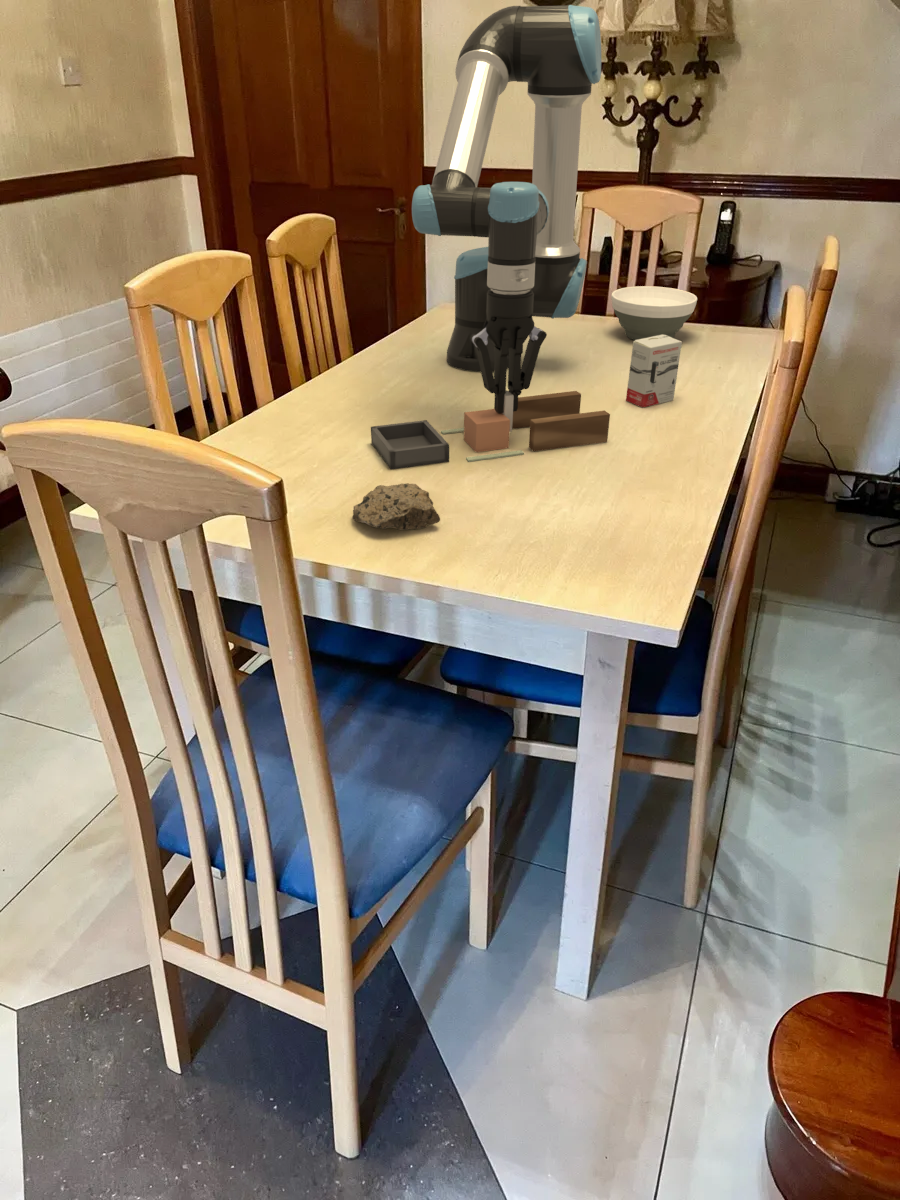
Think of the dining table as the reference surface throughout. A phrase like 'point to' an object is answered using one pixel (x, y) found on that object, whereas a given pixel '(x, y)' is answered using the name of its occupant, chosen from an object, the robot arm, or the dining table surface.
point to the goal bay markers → (483, 457)
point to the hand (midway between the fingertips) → (505, 429)
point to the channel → (559, 421)
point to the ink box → (653, 370)
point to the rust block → (486, 430)
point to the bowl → (652, 310)
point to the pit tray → (409, 444)
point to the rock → (396, 508)
